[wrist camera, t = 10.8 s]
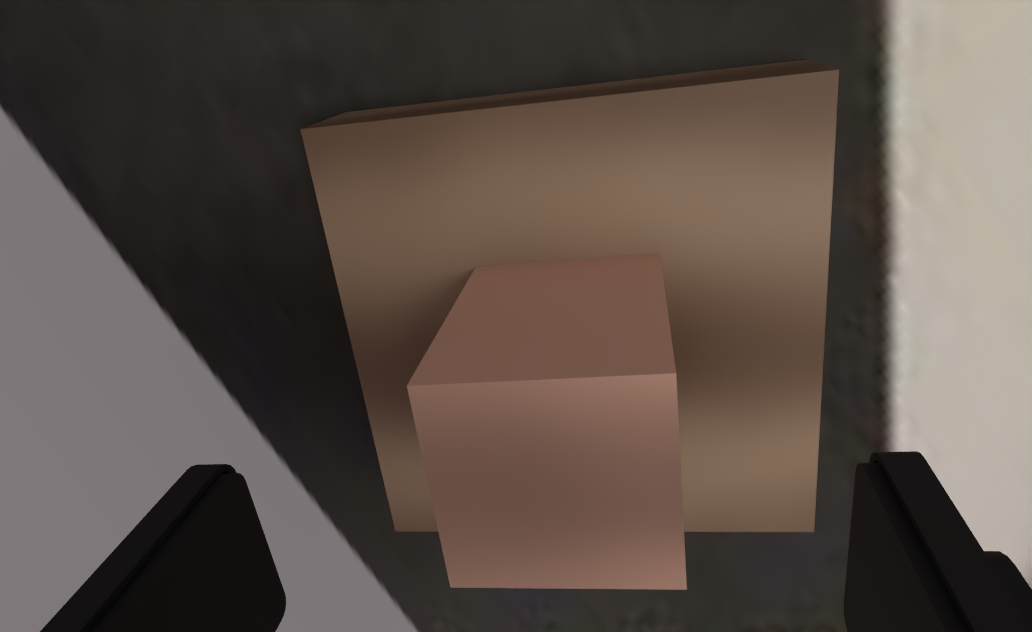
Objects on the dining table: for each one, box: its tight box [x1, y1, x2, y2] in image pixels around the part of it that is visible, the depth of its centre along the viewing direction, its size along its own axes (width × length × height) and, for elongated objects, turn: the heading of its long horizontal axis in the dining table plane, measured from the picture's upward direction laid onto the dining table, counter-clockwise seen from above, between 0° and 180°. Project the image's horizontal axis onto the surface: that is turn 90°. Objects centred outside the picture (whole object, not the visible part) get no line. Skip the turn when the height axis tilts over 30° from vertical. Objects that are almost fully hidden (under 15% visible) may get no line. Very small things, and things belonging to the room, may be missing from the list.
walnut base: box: [301, 60, 839, 532], centre depth 19 cm, size 12×12×3 cm
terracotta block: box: [407, 253, 687, 590], centre depth 15 cm, size 4×4×6 cm
